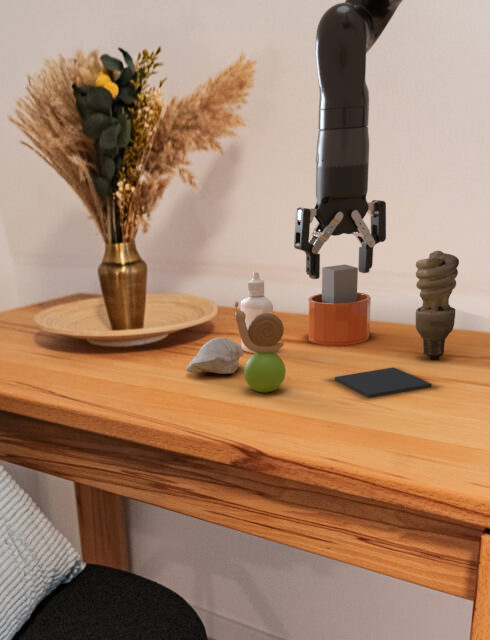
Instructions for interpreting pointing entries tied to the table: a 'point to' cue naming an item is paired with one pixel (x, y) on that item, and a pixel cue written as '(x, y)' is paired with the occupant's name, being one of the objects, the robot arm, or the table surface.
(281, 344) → the snail figurine
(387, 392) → the mat
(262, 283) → the eye dropper bottle
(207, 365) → the pebble
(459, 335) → the table surface
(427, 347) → the light bulb
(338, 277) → the block
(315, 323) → the cup
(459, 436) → the table surface
